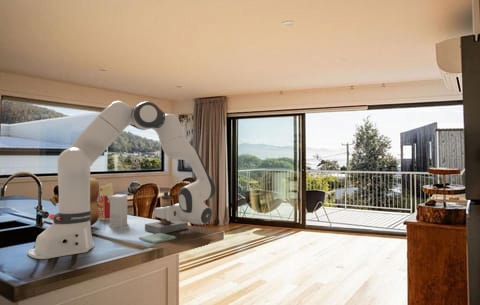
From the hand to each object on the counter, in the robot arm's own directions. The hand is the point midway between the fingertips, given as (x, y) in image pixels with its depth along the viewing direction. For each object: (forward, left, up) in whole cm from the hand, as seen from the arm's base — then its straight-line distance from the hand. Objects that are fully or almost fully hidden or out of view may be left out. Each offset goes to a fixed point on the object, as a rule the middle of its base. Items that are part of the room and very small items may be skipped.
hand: (164, 208), depth 168 cm
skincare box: (-10, +25, -10) cm, 29 cm away
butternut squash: (-24, +33, -10) cm, 42 cm away
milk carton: (-4, +48, -10) cm, 49 cm away
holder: (0, -1, -10) cm, 10 cm away
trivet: (-14, -13, -10) cm, 21 cm away
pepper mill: (0, -1, -9) cm, 9 cm away
